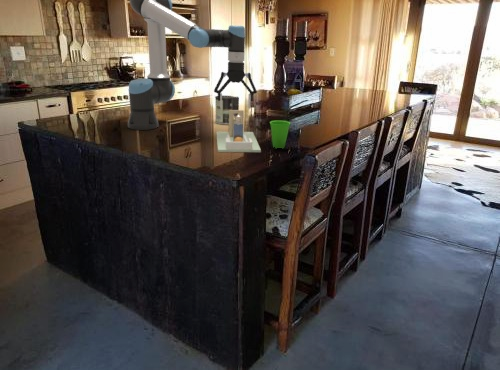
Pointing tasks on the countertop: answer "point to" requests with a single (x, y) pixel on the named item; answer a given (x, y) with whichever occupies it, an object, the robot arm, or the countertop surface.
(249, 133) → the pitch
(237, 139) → the ball
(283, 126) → the cup
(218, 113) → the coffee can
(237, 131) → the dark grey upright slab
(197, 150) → the countertop surface
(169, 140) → the countertop surface
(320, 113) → the countertop surface
